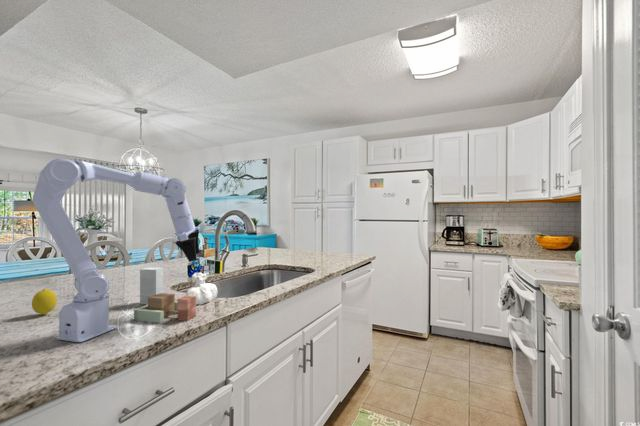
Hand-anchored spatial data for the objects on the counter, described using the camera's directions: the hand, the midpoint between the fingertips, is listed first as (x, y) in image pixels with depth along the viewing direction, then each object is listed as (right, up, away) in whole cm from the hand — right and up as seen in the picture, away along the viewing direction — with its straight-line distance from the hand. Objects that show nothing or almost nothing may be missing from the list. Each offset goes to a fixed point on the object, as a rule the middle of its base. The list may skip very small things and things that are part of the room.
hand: (194, 257), depth 92 cm
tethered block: (-3, -17, -7) cm, 18 cm away
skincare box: (-18, -17, +7) cm, 26 cm away
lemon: (-44, -17, -5) cm, 47 cm away
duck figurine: (-1, -17, +8) cm, 19 cm away
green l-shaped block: (-8, -17, -6) cm, 19 cm away
